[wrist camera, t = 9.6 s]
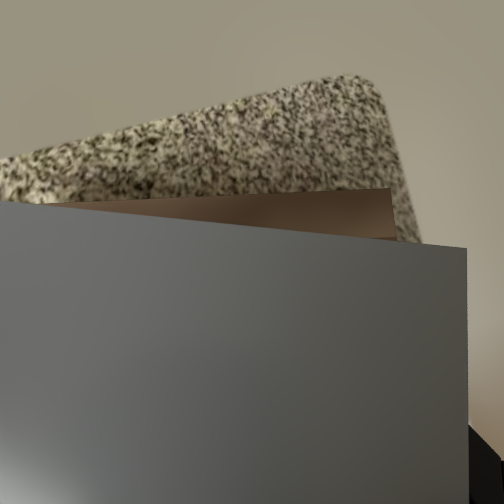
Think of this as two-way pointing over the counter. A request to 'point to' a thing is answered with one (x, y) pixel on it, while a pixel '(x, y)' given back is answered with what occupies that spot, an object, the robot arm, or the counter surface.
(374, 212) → the frame
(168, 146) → the counter surface
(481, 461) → the robot arm
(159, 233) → the grey rectangular block
